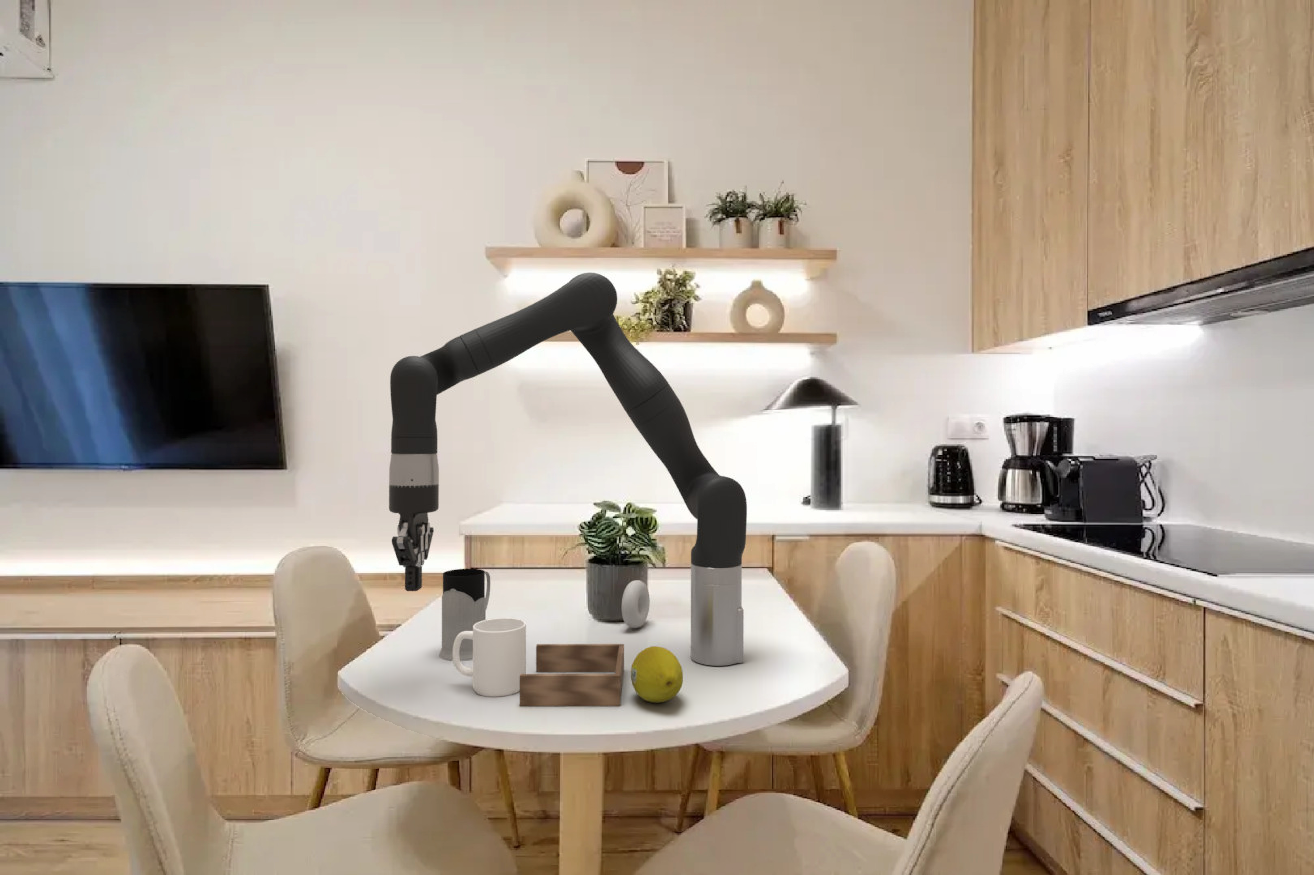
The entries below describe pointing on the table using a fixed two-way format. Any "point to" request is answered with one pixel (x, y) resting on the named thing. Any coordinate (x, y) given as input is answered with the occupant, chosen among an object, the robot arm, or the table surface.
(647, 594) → the donut
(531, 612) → the table surface
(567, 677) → the wooden box
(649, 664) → the lemon
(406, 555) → the robot arm
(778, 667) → the table surface
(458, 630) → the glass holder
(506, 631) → the cup
